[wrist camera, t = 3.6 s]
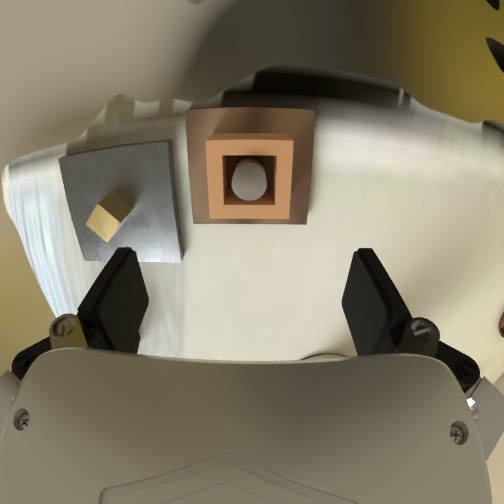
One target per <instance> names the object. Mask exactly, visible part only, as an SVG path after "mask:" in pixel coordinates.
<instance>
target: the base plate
mask: <svg viewBox="0 0 504 504" xmlns="http://www.w3.org/2000/svg"><path fill="white" fill-rule="evenodd" d="M59 164H60V169H61V174H62V179H63V184H64V189H65V193H66V198H67V202H68V206H69V210H70V214H71V217H72V221H73V225H74V228H75V231H76V235H77V238H78V241H79V245H80V248H81V251H82V254H83V257H84V260H88V261H109V260H110V258H111V257H112V255H113V254H114V252H115V251H116V250H117V248H118V247H131V248H132V250H134V251H136V254H137V258H138V262H182V259H183V257H184V252H183V245H182V238H181V230H180V223H179V215H178V206H177V197H176V188H175V178H174V167H173V155H172V142H171V139H169V140H159V141H149V142H141V143H133V144H125V145H118V146H112V147H106V148H100V149H94V150H89V151H84V152H79V153H74V154H69V155H65V156H63V157H61V158H59Z"/></svg>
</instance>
